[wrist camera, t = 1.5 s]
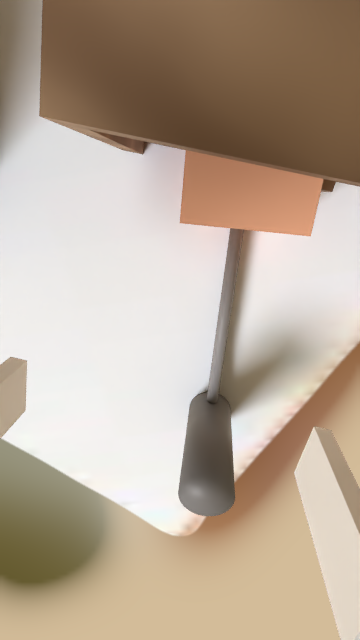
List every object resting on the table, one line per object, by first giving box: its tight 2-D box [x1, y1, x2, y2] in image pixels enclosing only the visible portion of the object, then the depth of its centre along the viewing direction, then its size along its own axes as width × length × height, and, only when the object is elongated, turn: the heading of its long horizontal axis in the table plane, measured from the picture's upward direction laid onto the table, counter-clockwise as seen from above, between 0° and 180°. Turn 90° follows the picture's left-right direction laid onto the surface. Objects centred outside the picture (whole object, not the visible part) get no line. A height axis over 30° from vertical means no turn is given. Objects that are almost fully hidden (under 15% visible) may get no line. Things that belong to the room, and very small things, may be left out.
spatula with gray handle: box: [178, 150, 324, 516], centre depth 19 cm, size 22×6×8 cm, turn 175°
